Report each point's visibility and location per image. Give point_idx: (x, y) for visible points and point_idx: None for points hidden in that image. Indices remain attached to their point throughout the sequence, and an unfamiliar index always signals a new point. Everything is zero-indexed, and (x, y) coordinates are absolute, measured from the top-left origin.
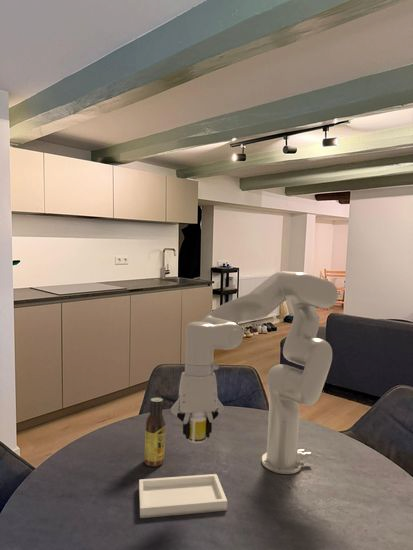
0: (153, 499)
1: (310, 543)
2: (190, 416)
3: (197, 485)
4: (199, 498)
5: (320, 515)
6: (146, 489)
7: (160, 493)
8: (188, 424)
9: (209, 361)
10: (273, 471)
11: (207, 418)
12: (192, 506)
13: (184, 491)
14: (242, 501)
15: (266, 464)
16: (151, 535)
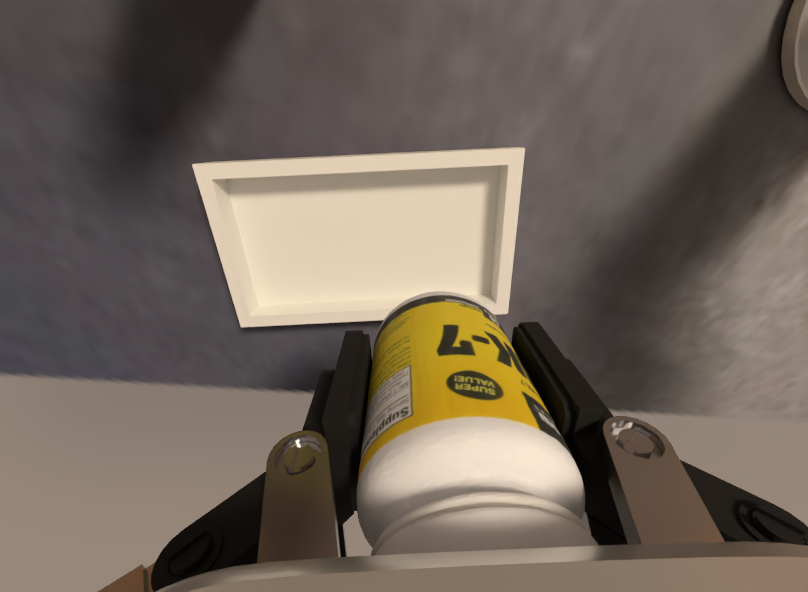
0: (276, 247)
1: (638, 408)
2: (374, 542)
3: (434, 176)
4: (428, 254)
5: (735, 335)
6: (241, 188)
7: (296, 216)
8: (355, 508)
9: None
10: (788, 89)
11: (587, 491)
12: None
13: (381, 212)
14: (560, 265)
15: (801, 39)
16: (293, 367)
